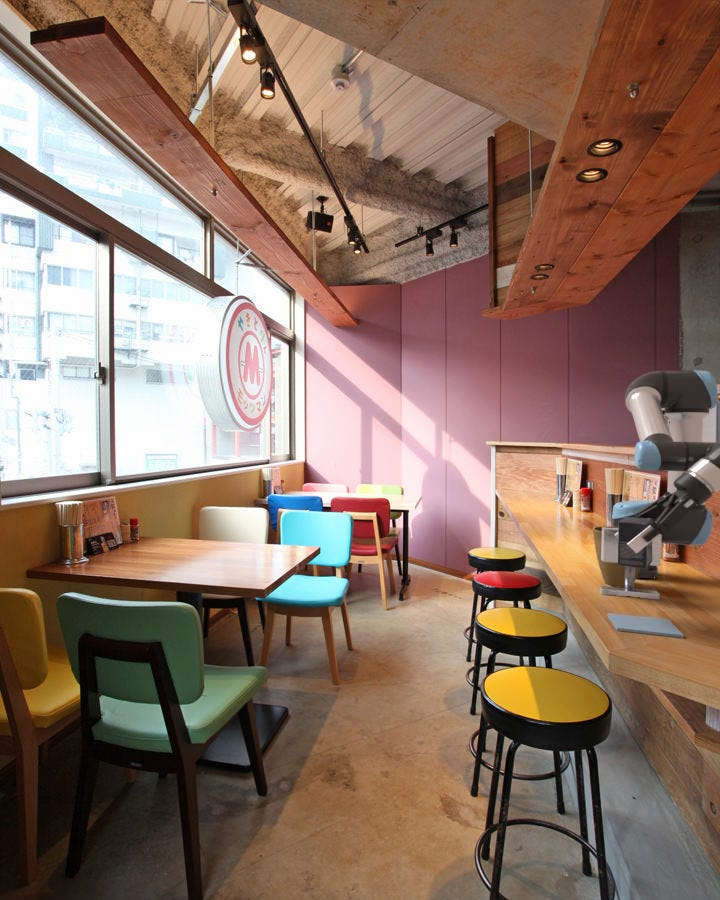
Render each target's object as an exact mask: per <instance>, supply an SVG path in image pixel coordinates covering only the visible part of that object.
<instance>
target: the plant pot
mask: <svg viewBox="0 0 720 900" xmlns="http://www.w3.org/2000/svg"><path fill="white" fill-rule="evenodd" d="M602 527H607V528H618V527H612V526H609V525H608V526H607V525H606V526H605V525H602V526H594V527H592V530H593V531H592V532H593V533H592V534H593V541H594V548H595V553H596V558H597V561H598V562H597V563H598V566H599V570H600V573H601V576H602V580H603V581H604V584H606V585H608V584H609V585H608V586H611V585H613V586H612V587H615V586H620V587H619V588H621V587H624V578H625V566H623V565H618V563H614V562H603V561H602V560H601V543H602ZM639 571H640V568H637V567H635V579H634V583H635V582H636V581H637V580H636V579H637V576H638V573H639Z"/></svg>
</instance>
